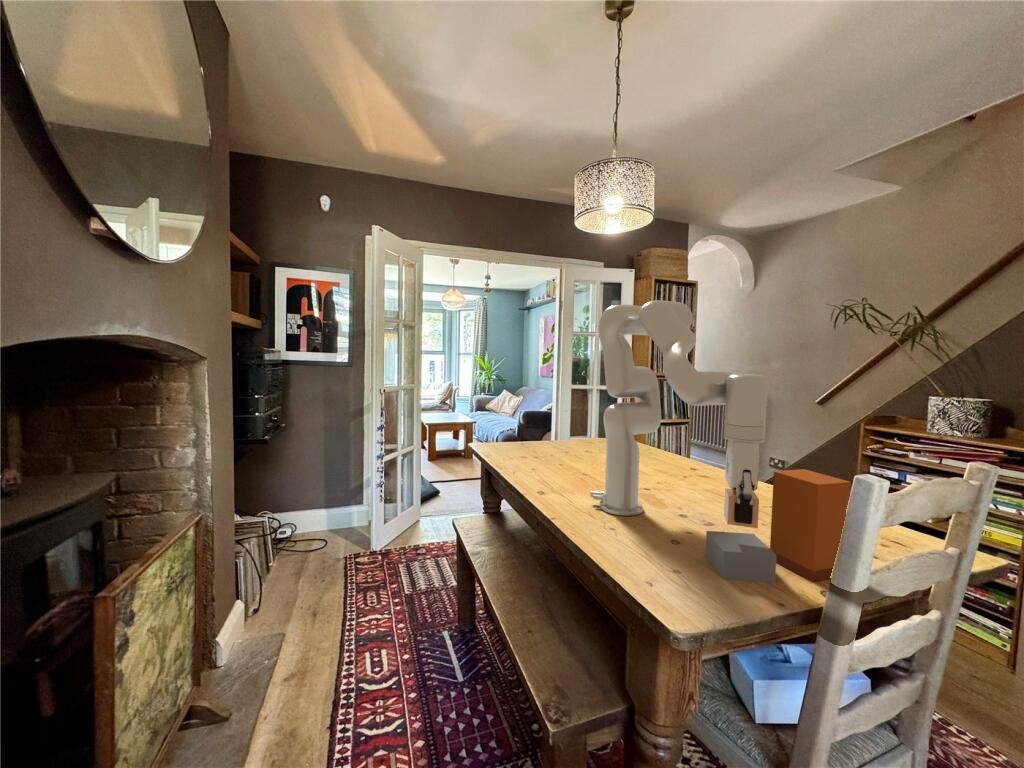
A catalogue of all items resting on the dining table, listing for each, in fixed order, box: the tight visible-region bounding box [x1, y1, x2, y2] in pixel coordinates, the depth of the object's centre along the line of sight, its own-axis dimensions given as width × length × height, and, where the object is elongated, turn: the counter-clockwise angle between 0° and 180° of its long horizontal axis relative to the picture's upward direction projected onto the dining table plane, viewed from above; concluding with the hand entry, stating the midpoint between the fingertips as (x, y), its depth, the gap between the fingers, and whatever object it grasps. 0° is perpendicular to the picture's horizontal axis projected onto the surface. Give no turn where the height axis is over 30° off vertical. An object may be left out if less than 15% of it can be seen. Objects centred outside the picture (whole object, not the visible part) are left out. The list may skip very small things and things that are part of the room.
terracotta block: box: [723, 488, 760, 529], centre depth 87 cm, size 6×6×6 cm
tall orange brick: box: [769, 468, 852, 582], centre depth 88 cm, size 10×9×20 cm
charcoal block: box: [705, 530, 777, 584], centre depth 88 cm, size 10×10×6 cm
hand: (740, 516), depth 87 cm, fingers closed on terracotta block, 5 cm apart
